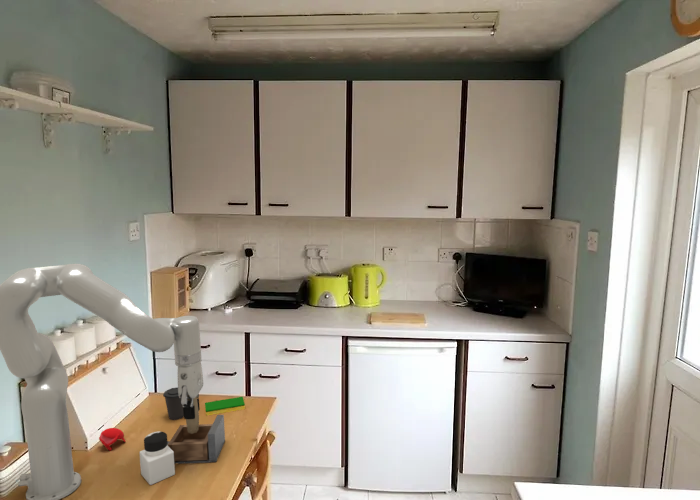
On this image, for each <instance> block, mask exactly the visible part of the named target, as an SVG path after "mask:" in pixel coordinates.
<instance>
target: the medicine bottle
mask: <svg viewBox="0 0 700 500" xmlns="http://www.w3.org/2000/svg"><path fill="white" fill-rule="evenodd" d="M167 441H168V434H167V433H166V432H165V431H159V430H158V431H153V432H151V433H149V434H147V435H146V436H145V437H144V439H143V445H144V447H143V448H144V449H142V450H140V451H139V465H140V474H141V476H142V477H143V478H144V479H145V481H146V482H147V483H148V485H150V486H152V485H155V484H156V483H159V482H161V481H164V480H165V479H168V478H170V477H172V476H175V474H176V464H175V463H174V452H173V450H171V449H170V448H169V447H168V442H167Z"/></svg>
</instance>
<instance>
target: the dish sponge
mask: <svg viewBox="0 0 700 500" xmlns="http://www.w3.org/2000/svg"><path fill="white" fill-rule="evenodd" d="M204 409H205V416H207V417H208V415H209V416H214V415H213V414H215V415H220V414H219V413H221V414H225V413H226V412H227V413H231V411H233V412H236V411H237V410H238V411H243V409H244V410H245V409H246V403H245V399H244V397H243V396H237V397H232V398H226V399H219V400H214V401H208V402H207V401H206V402H205V403H204ZM238 411H237V412H238Z"/></svg>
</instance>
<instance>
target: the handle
mask: <svg viewBox="0 0 700 500" xmlns="http://www.w3.org/2000/svg"><path fill="white" fill-rule="evenodd" d="M187 396H189V395H187ZM187 400H188V401H190V399H187ZM193 406H195V419H185V425H187V428H188V429H187V431H188V433H191V434H193V433H197V431H198V430H199V425H200V413H199V411H200V410H198V403H197V396H196V397H195V398H193Z"/></svg>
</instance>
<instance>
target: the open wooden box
mask: <svg viewBox="0 0 700 500" xmlns="http://www.w3.org/2000/svg"><path fill="white" fill-rule="evenodd" d="M212 425H213V423H207V424H205V423H204V424H199V430H198V431H197V433H193V434H191V433H188V431H187V429H188V428H187V424H180V425H179V426H178V427H177V430H176V431H175V433H174V434H173V436H172V437H171V439H170V440H169V441H170V442H169V444H168V447H169V448H170V449H171V450H173V452H174V461H192V460H208V458H209V448H208V433H209V431H210V429H211V427H212Z"/></svg>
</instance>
